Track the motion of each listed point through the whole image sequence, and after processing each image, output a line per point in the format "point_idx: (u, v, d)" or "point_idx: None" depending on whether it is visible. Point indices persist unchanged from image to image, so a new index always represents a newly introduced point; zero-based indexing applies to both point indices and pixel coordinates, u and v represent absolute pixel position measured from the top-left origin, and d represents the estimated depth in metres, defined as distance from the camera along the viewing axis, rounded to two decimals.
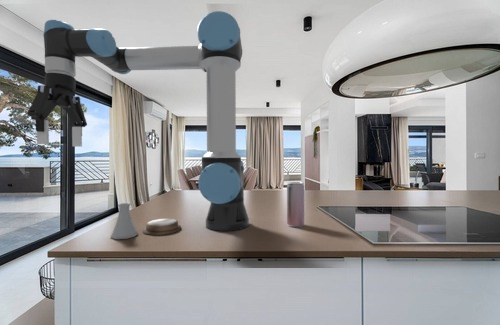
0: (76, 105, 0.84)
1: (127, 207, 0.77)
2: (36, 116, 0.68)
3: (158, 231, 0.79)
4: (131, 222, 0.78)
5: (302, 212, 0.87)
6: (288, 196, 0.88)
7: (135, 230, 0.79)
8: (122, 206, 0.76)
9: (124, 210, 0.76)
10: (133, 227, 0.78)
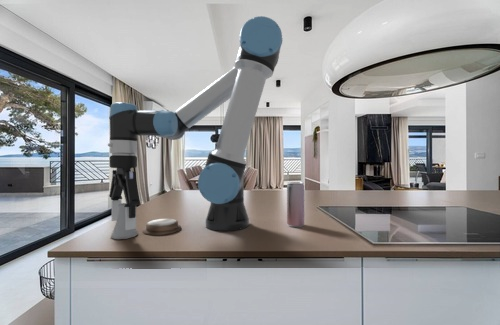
0: None
1: None
2: (136, 204, 0.71)
3: (158, 231, 0.79)
4: None
5: (302, 212, 0.87)
6: (288, 196, 0.88)
7: (135, 230, 0.79)
8: (122, 206, 0.76)
9: (124, 210, 0.76)
10: None
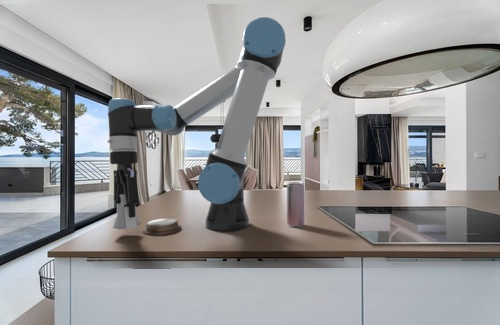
0: None
1: None
2: (135, 204, 0.73)
3: (158, 231, 0.79)
4: None
5: (302, 212, 0.87)
6: (288, 196, 0.88)
7: (137, 220, 0.79)
8: (123, 196, 0.76)
9: (125, 201, 0.76)
10: None
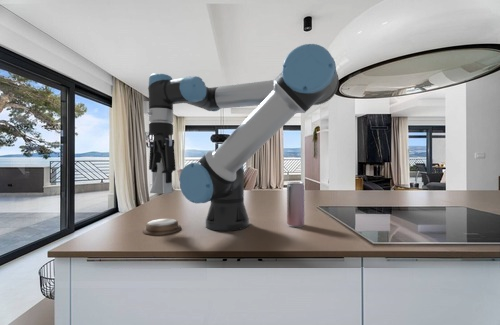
0: None
1: None
2: (172, 170, 0.80)
3: (158, 231, 0.79)
4: None
5: (302, 212, 0.87)
6: (288, 196, 0.88)
7: None
8: (160, 164, 0.83)
9: (162, 168, 0.83)
10: None
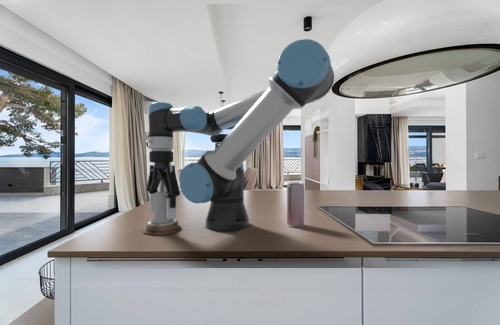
0: None
1: (165, 195, 0.84)
2: (177, 195, 0.78)
3: (158, 231, 0.79)
4: None
5: (302, 212, 0.87)
6: (288, 196, 0.88)
7: None
8: (161, 193, 0.83)
9: (162, 198, 0.83)
10: None
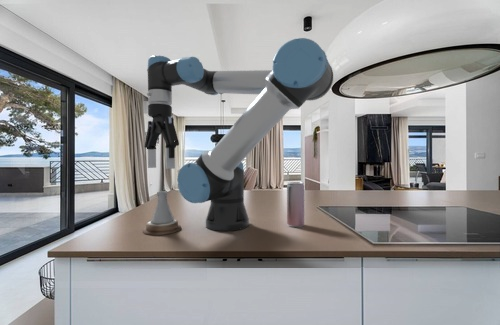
0: (153, 129, 0.90)
1: (165, 195, 0.84)
2: (176, 145, 0.79)
3: (158, 231, 0.79)
4: (168, 208, 0.84)
5: (302, 212, 0.87)
6: (288, 196, 0.88)
7: (172, 216, 0.85)
8: (161, 193, 0.83)
9: (162, 198, 0.83)
10: (170, 213, 0.85)
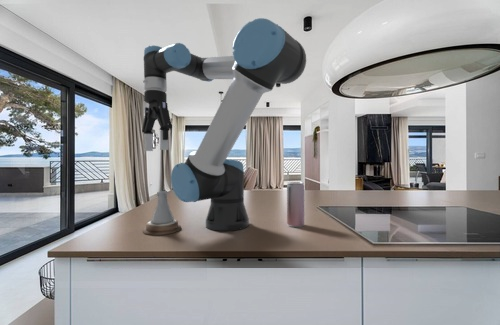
0: (150, 115, 0.97)
1: (165, 195, 0.84)
2: (169, 128, 0.86)
3: (158, 231, 0.79)
4: (168, 208, 0.84)
5: (302, 212, 0.87)
6: (288, 196, 0.88)
7: (172, 216, 0.85)
8: (161, 193, 0.83)
9: (162, 198, 0.83)
10: (170, 213, 0.85)
